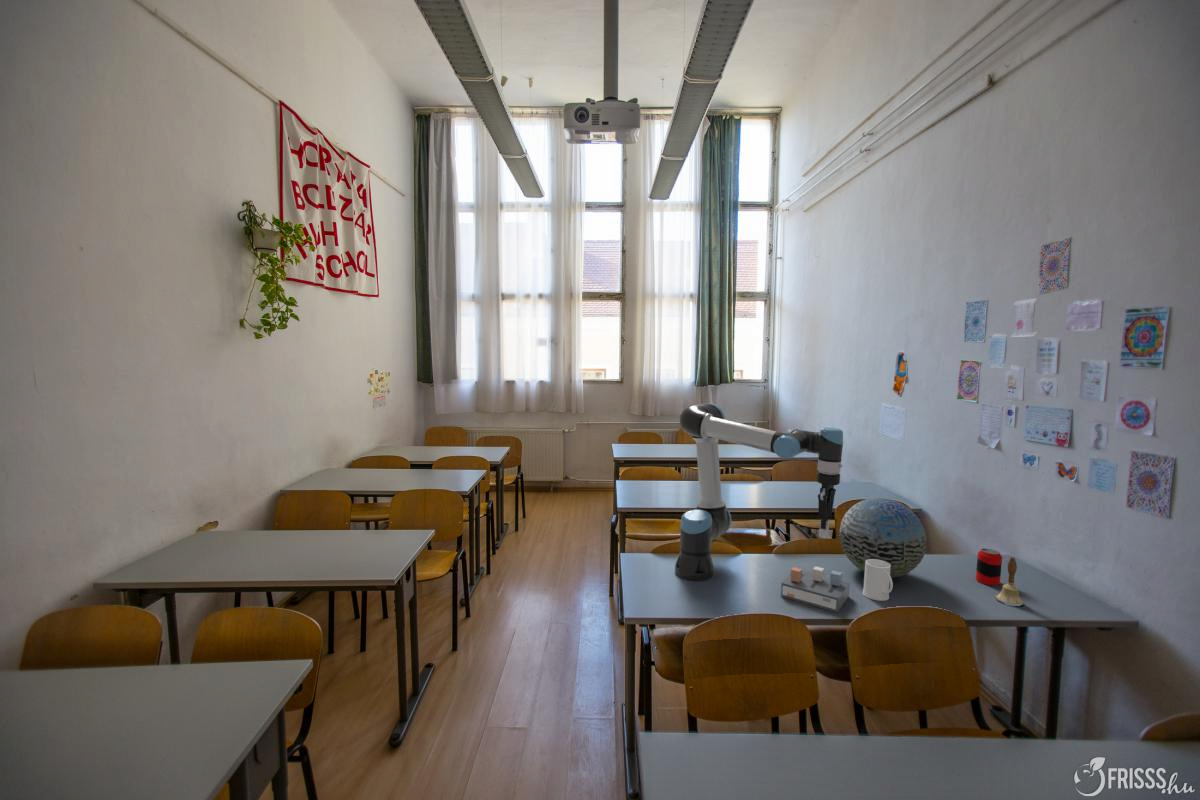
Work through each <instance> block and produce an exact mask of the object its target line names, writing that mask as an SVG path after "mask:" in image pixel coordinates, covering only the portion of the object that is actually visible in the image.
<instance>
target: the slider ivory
mask: <svg viewBox="0 0 1200 800" xmlns="http://www.w3.org/2000/svg"><path fill="white" fill-rule="evenodd" d="M812 574H813V579H812V580H815V581H819V582H822V580H823V579H824V577H825V568H824V567H820V566H814V567H813V569H812Z"/></svg>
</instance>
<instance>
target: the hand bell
mask: <svg viewBox="0 0 1200 800" xmlns="http://www.w3.org/2000/svg"><path fill="white" fill-rule="evenodd" d="M1017 568H1018V565H1017V561H1016V558H1015V557H1012V556H1010V558H1009V560H1008V563H1007V572H1008V579H1007V583H1006V584H1003V585H1002V589H1001V590H1000V592H999V593H998V594H997V595H996V596H995V597H997V598H998V599H999V600H1001V601H1004V602H1007V603H1011V604H1023V603H1024V601H1023V600H1022V598H1021V597H1020V593H1019V588H1018V587H1017V586H1016V585H1015V574H1016V572H1017Z"/></svg>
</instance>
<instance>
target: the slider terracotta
mask: <svg viewBox="0 0 1200 800" xmlns="http://www.w3.org/2000/svg"><path fill="white" fill-rule="evenodd" d="M802 571H803V568H799V567H796V566H793V567H792V568H791V569H790V574H791V579H790V580H791V581H794V582H798V583H799V582H800V581H801V580H802Z"/></svg>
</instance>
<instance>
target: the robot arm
mask: <svg viewBox="0 0 1200 800" xmlns="http://www.w3.org/2000/svg"><path fill="white" fill-rule="evenodd" d="M679 424H680V428H681V429H682V431H683V432H684V433H686V434H687V435H689V436H691V438H692V439H693V440H694V441H695V446H696V447H695V448H696V460H697V474H698V487H699V501H698V502H697V503H696V509H693V510H688V511H686V512H684V513H683V514H682V516H681V519H680V520H681V521H680V540H679V544H680V546H679V548H680V549H679V554H678V557H677V559H676V561H675V566H674V572H675V574H676V575H677V576H678V577H680V578H682V579H685V580H688V581H689V580H691V581H706V580H707V581H708V580H711V579H712V578H713V577H714V576H715V566H714V562H713V559H712V555H711V550H712V548H711V547H712V542H713V540H716V539H717V538H718V537H722V536H723V535H725V533H727V532H728V531H729V529H730V528H731V525H732V515H731V513H730V511H729V509H727V505H726V504H727V503H726V502H725V501H724V500H722V485H721V483H722V482H721V472H720V456H719V455H720V454H719V442H718V441H719V440H721V441H724V442H729V443H733V444H737V445H741V446H744V447H745V446H746V447H748V448H753V449H757V450H761V451H764V452H765V451H766V452H768V453H773V454H776V455H777V456H778V457H779V458H781V459H792V458H794V457H796V456H798V455H800V454H802V453H811V454H818V458H817V467H816V468H817V470H818V471H817V472H816V482H817V483H818V484H821V487H820V488H819V493H817V499H818V516H817V519H818V520H819V532H818V537H819V538H823V539H829V531H830V520H833V517H832V515H833V509H834V501H835V496H836V491H837V489H836V488H835V487H834V486H838V485H840V482H841V474H840V473H841V470H842V469H841V468H843V464H842V455H843V447H844V446H843V445H844V431H843V430H842V429H840V428H837V427H828V426H827V427H822V428H820V429H819V431H817V432H815V431H809V430H801V429H797V428H796V429H795V428H794V429H793V428H789V429H787V430H786V432H780V431H777V430H772V429H768V428H763V427H760V426H759V427H758V426H754V425H750V424H745V423H742V422H741V423H740V422H738V421H737V422H736V421H731V420H727V419H726V418H725V413H724V412H723V410H722V408H721V407H720V406H718V405H717V404H715V403H712V402H710V403H708V402H704V403H700V404H693V405H690V406H687V407H686V408H685V409H683V410H682V412H681V414H680V417H679Z"/></svg>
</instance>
